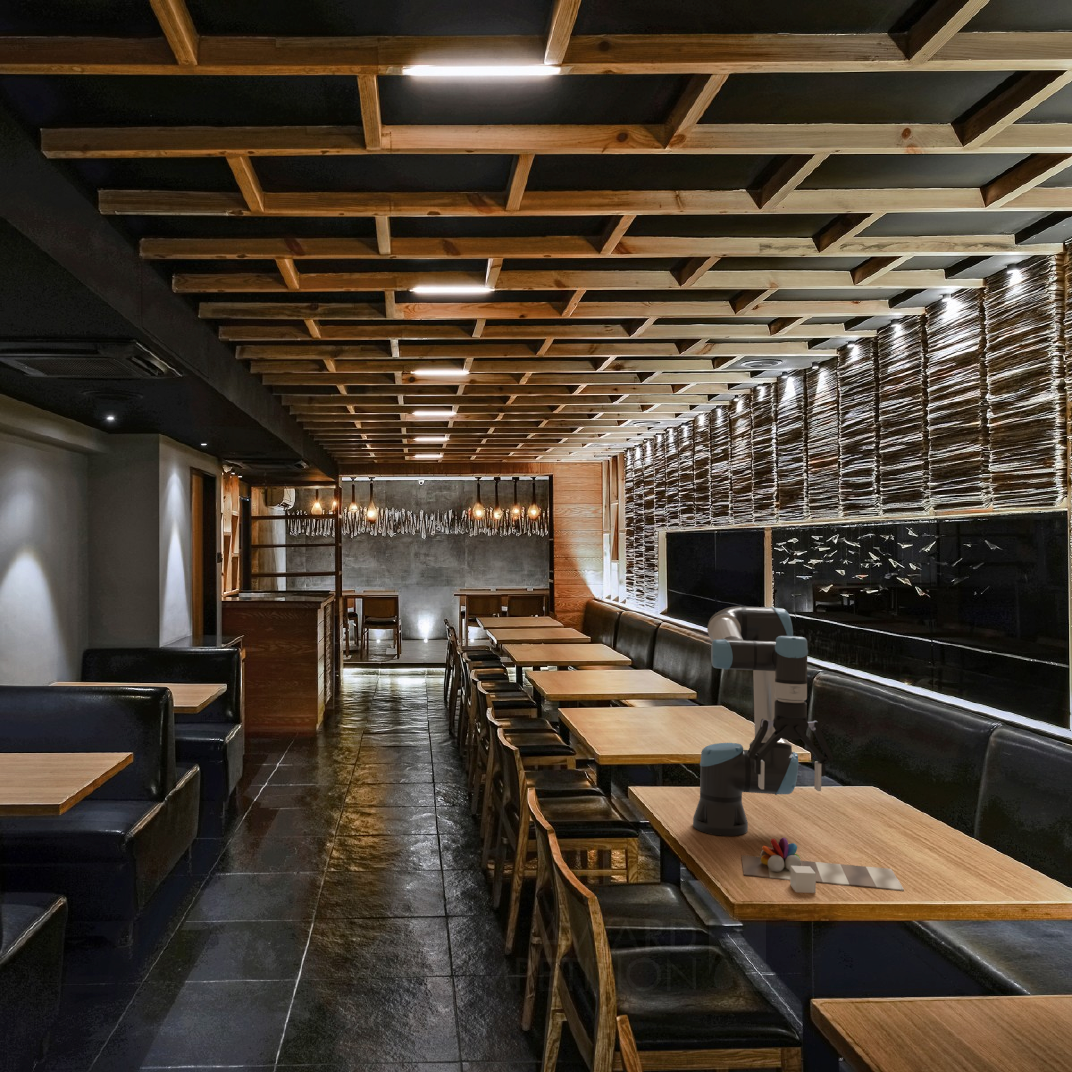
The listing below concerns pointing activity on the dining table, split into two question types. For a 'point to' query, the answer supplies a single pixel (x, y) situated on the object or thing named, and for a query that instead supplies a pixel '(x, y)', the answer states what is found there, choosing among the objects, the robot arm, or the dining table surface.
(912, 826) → the dining table surface
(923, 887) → the dining table surface
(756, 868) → the striped mat
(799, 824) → the dining table surface
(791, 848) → the rainbow segmented toy
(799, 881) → the cube
